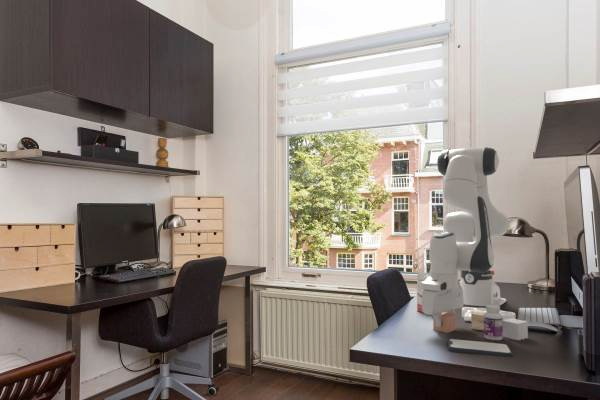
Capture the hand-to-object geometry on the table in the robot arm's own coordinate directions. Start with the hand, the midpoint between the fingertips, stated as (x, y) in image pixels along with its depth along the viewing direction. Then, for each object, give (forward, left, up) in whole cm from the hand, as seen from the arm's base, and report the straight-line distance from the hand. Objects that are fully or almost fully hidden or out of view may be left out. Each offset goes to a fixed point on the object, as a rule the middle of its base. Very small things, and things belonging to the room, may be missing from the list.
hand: (444, 324), depth 141 cm
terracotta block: (0, 0, -2) cm, 2 cm away
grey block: (-8, +19, -2) cm, 21 cm away
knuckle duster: (-24, +3, -2) cm, 24 cm away
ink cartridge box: (-21, -18, -2) cm, 28 cm away
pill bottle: (-2, +15, -2) cm, 15 cm away
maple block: (-11, +7, -2) cm, 13 cm away
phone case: (+12, +17, -2) cm, 21 cm away
